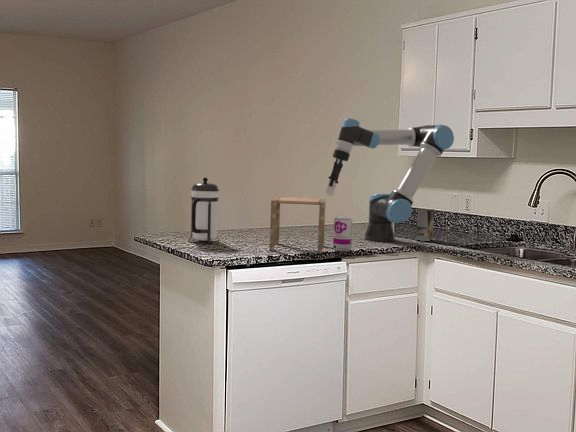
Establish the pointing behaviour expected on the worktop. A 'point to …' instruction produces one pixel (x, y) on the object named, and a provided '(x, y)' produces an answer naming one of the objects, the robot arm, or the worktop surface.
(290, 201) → the trapdoor
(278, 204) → the trapdoor frame
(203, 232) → the coffee press
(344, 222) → the supplement can
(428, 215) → the coffee box
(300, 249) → the worktop surface
